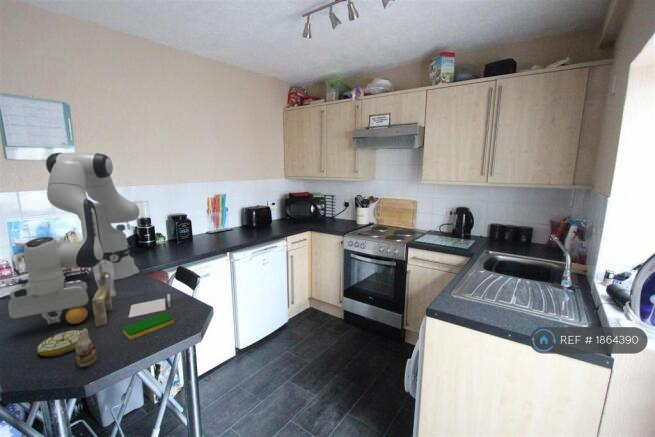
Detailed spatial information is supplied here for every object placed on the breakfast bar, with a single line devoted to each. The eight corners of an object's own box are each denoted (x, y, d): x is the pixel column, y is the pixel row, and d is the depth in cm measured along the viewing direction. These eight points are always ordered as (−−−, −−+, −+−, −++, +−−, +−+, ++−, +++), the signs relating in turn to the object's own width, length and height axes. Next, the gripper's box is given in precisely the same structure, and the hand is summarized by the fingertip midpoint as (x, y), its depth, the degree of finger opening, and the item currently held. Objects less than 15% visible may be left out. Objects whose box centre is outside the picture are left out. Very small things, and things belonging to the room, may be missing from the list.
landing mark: (131, 305, 120) (131, 305, 120) (165, 298, 125) (165, 298, 125) (128, 317, 109) (128, 317, 109) (165, 310, 115) (165, 309, 115)
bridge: (95, 326, 103) (91, 300, 102) (103, 309, 116) (99, 286, 115) (106, 324, 105) (102, 298, 103) (112, 307, 118) (109, 284, 116)
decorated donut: (50, 343, 94) (48, 332, 94) (90, 336, 98) (89, 325, 97) (31, 362, 85) (29, 350, 84) (77, 353, 88) (75, 342, 88)
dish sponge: (123, 333, 99) (122, 327, 99) (166, 318, 110) (165, 311, 109) (130, 341, 95) (129, 334, 94) (174, 324, 105) (174, 317, 105)
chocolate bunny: (67, 370, 80) (61, 337, 79) (85, 353, 88) (79, 322, 86) (90, 368, 81) (84, 334, 80) (105, 351, 89) (101, 320, 87)
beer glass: (106, 299, 125) (101, 266, 123) (93, 298, 127) (88, 265, 124) (121, 293, 132) (116, 261, 130) (108, 292, 134) (103, 260, 131)
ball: (78, 300, 108) (93, 309, 110) (64, 312, 107) (80, 321, 109) (72, 308, 102) (88, 317, 105) (58, 321, 102) (75, 330, 104)
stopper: (167, 300, 124) (167, 294, 124) (170, 299, 125) (169, 293, 124) (168, 307, 117) (167, 301, 117) (171, 306, 118) (170, 300, 117)
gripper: (87, 276, 109) (93, 311, 111) (11, 288, 99) (18, 326, 101) (83, 282, 104) (89, 318, 106) (2, 294, 94) (10, 334, 96)
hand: (54, 322), depth 104 cm, fingers closed
